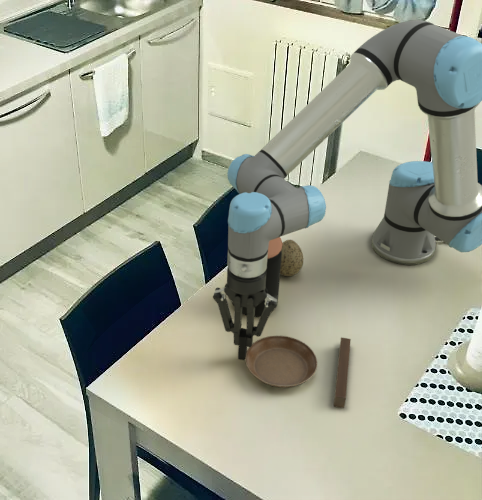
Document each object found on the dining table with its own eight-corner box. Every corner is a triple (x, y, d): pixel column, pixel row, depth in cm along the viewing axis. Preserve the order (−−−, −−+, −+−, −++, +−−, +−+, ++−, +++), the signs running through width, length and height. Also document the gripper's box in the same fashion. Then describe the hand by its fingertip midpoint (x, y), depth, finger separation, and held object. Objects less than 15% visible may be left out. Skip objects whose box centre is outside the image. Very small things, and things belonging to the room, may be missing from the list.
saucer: (242, 343, 158) (243, 334, 157) (311, 343, 157) (312, 334, 156) (247, 394, 146) (247, 385, 145) (320, 395, 145) (322, 386, 144)
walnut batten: (348, 348, 155) (350, 338, 154) (344, 408, 142) (345, 398, 141) (339, 347, 156) (341, 337, 154) (333, 406, 143) (335, 396, 141)
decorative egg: (307, 276, 175) (311, 243, 169) (283, 286, 173) (286, 253, 167) (290, 261, 181) (293, 228, 175) (266, 270, 178) (268, 237, 172)
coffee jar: (283, 295, 170) (288, 233, 160) (269, 324, 163) (274, 261, 152) (240, 285, 174) (242, 223, 163) (224, 312, 167) (226, 250, 156)
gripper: (209, 275, 137) (208, 362, 152) (278, 285, 134) (270, 373, 148) (217, 252, 143) (215, 338, 157) (283, 260, 140) (275, 348, 154)
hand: (242, 355), depth 153 cm, fingers closed
